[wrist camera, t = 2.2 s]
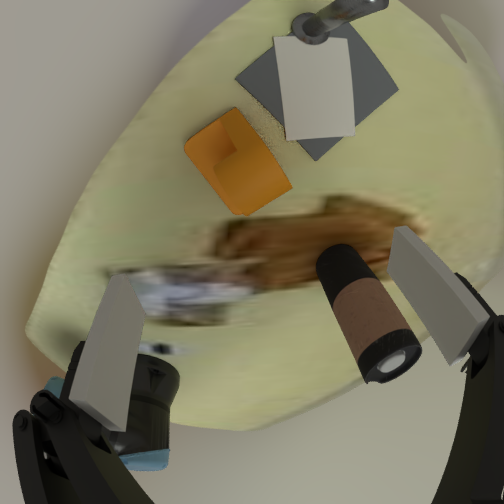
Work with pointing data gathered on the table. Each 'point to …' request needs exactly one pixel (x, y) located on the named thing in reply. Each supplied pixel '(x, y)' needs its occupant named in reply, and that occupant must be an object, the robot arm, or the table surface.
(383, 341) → the travel mug
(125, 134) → the table surface
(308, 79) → the mat
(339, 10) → the grey smooth fixture
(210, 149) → the bracket
